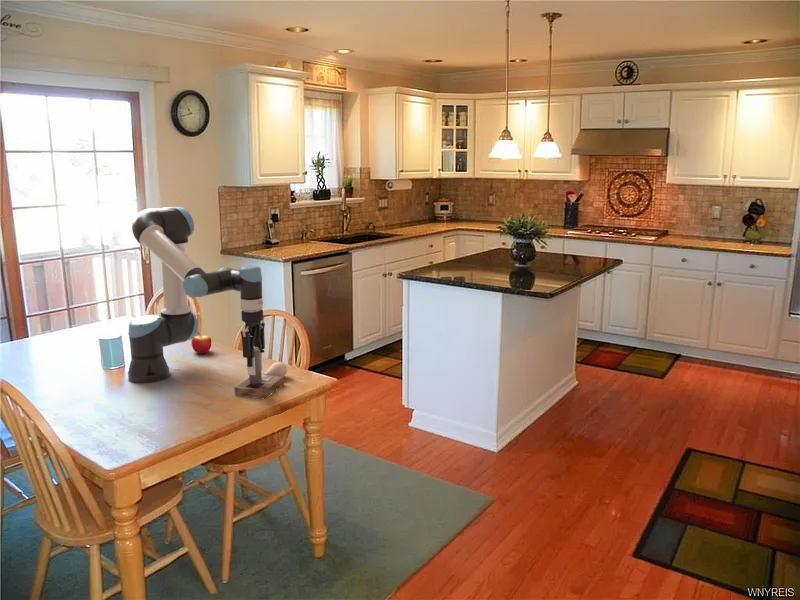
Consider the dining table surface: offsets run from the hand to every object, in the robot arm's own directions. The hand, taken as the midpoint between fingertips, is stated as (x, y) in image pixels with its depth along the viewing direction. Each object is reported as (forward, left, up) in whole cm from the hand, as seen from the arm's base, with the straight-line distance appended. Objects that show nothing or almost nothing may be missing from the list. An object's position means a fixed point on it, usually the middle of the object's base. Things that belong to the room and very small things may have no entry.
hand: (255, 372), depth 231 cm
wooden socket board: (0, +3, -8) cm, 9 cm away
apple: (-45, +36, -8) cm, 58 cm away
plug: (0, 0, -4) cm, 4 cm away
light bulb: (-1, +16, -8) cm, 18 cm away
